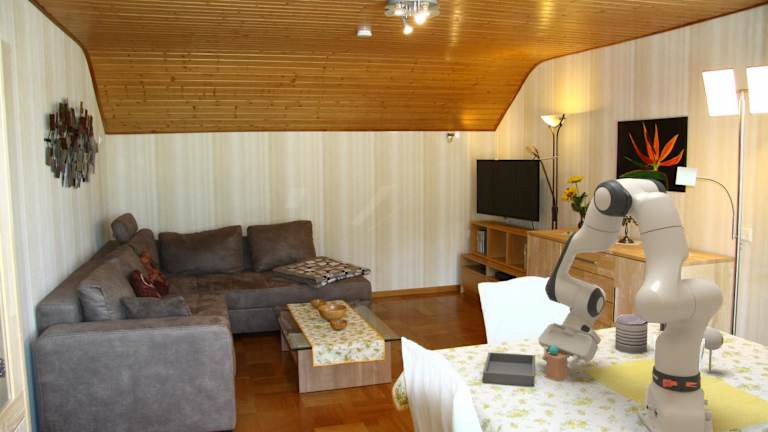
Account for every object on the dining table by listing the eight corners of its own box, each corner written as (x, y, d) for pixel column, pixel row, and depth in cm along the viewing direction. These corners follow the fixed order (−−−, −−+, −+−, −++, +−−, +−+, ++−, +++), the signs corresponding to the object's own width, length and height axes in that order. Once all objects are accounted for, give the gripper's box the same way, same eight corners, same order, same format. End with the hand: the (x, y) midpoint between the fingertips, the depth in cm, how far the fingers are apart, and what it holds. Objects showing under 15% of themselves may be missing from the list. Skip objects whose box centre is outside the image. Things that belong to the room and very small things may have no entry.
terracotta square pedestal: (555, 372, 212) (555, 350, 211) (569, 377, 207) (569, 354, 206) (544, 376, 208) (544, 354, 208) (557, 381, 204) (558, 358, 203)
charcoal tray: (534, 386, 200) (534, 376, 200) (483, 382, 204) (483, 372, 203) (535, 365, 219) (535, 355, 219) (488, 361, 223) (488, 352, 223)
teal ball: (560, 351, 205) (554, 343, 207) (552, 356, 206) (546, 348, 207) (560, 351, 208) (554, 343, 209) (553, 356, 209) (547, 349, 210)
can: (652, 354, 228) (653, 321, 227) (620, 354, 228) (621, 322, 227) (640, 344, 240) (641, 313, 238) (610, 344, 240) (610, 313, 238)
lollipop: (720, 378, 204) (722, 332, 203) (696, 374, 208) (698, 329, 206) (722, 371, 210) (724, 327, 209) (698, 367, 214) (700, 324, 212)
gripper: (546, 317, 218) (526, 350, 214) (597, 330, 202) (577, 367, 197) (554, 327, 222) (535, 360, 217) (605, 341, 205) (585, 377, 201)
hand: (555, 363), depth 207 cm, fingers open, 8 cm apart
